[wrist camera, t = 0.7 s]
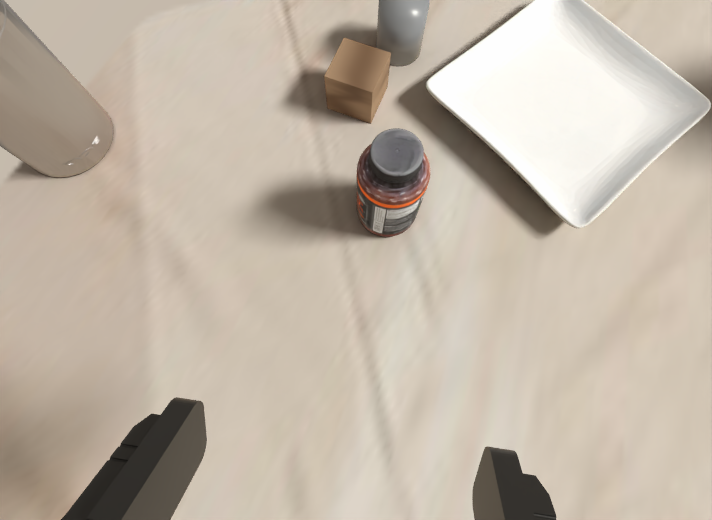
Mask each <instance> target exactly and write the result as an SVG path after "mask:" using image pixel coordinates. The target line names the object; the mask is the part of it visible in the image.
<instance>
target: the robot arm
mask: <svg viewBox="0 0 712 520" xmlns="http://www.w3.org/2000/svg"><path fill="white" fill-rule="evenodd" d="M113 134H114V132H113V124H112V121H111V118H110V117H109V115H108V114H107V112H106V111H105V110H104V109H103V108H102V107H101V106H100V105H99V103H98V102H97V101H96V100H95V99H94V98H93V97H92V96H91V95H90V94H89V93H88V91H87V90H86V89H85V88H84V87H83V86H82V85H81V84H80V82H79V81H78V80H77V79H76V78H75V77H74V76H73V75H72V74H71V73H70V72H69V70H68V69H67V68H66V67H65V66H64V65H63V64H62V63H61V62H60V61H59V60H58V59H57V57H56V56H55V55H54V54H53V53H52V52H51V51H50V50H49V49H48V48H47V47H46V46H45V45H44V43H43V42H42V41H41V40H40V39H39V38H38V37H37V36H36V35H35V34H34V32H32V30H31V29H30V28H29V27H28V26H27V25H26V24H25V23H24V22H23V20H22V19H21V18H20V17H19V16H18V15H17V14H16V13H15V12H14V11H13V10H12V9H11V7H10V6H9V5H8V4H7V3H6V2H5V1H4V0H0V146H1V147H3V148H4V149H5V150H7V151H8V152H10V153H11V154H13V155H14V156H16V157H17V158H19V159H20V160H22V161H23V162H25V163H26V164H28V165H29V166H31V167H32V168H34V169H35V170H37V171H39V172H40V173H42V174H45V175H48V176H51V177H70V176H73V175H77V174H80V173H82V172H84V171H87V170H89V169H90V168H91V167H93V166H94V165H96V164H97V163H98V162H99V161H100V160H101V159H102V158H103V157H104V156H105V154H106V153H107V151H108V150H109V148H110V145H111V143H112V139H113ZM206 442H207V437H206V426H205V416H204V406H203V403H202V402H201V401H196V400H190V399H183V398H174V399H173V400H171V402H170V403H169V404H168V406H167V407H166V408H165V410H164V411H163V413H162V414H161V415H157V414H151V415H149V416H148V417H147V418H145V419H144V420H142V421H141V422H140V423H138V424H137V425H136V426H134V427H133V428H132V430H131V431H130V432H129V434H128V435H127V436H126V437H125V439H124V440H123V441H122V443H121V445H120V447H118V448H117V449H116V450H115V452H114V453H113V454H112V455H111V457H110V460H109V461H107V462H106V463H105V465H104V466H103V467H102V468H101V470H100V471H99V472H98V474H97V475H96V476H95V477H94V479H93V480H92V481H91V483H90V484H89V485H88V486H87V488H86V489H85V490H84V492H83V493H82V494H81V496H80V497H79V498H78V499H77V501H76V502H75V503H74V505H73V506H72V507H71V508H70V510H69V511H68V512H67V513H66V515H65V516H64V517H63V518H62V519H61V520H170V519H171V517H172V515H173V514H174V512H175V510H176V508H177V506H178V504H179V502H180V500H181V499H182V497H183V495H184V493H185V491H186V489H187V487H188V485H189V484H190V482H191V480H192V478H193V476H194V474H195V472H196V470H197V468H198V467H199V465H200V463H201V461H202V458H203V456H204V452H205V448H206ZM473 511H474V518H475V520H556V514H555V511H554V508H553V505H552V502H551V499H550V496H549V494H548V493H547V491H546V490H545V488H544V487H543V486H542V484H541V483H540V482H539V480H538V479H537V477H536V476H534V475H528V474H523V473H522V470H521V466H520V463H519V459H518V456H517V454H516V452H515V451H512V450H506V449H499V448H493V447H485V449H484V452H483V455H482V458H481V462H480V465H479V468H478V472H477V475H476V478H475V482H474V486H473Z"/></svg>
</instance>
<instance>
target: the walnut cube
mask: <svg viewBox="0 0 712 520" xmlns="http://www.w3.org/2000/svg"><path fill="white" fill-rule="evenodd" d="M390 57H391V53H390V52H387V51H384V50H381V49H378V48H375V47H372V46H369V45H366V44H363V43H359V42H356V41H353V40H350V39H347V38H343V40H342V42H341V44H340V46H339V48H338V50H337V52H336V54H335V56H334V58H333V60H332V62H331V64H330V66H329V68H328V70H327V72H326V74H325V76H324V79H325V89H326V99H327V108H328V109H330V110H333V111H336V112H339V113H342V114H345V115H348V116H350V117H353V118H356V119H359V120H362V121H365V122H368V123H371V122H372V120H373V117H374V115H375V113H376V111H377V109H378V106H379V104H380V102H381V100H382V98H383V95H384V93H385V91H386V89H387V85H388V76H389V67H390Z"/></svg>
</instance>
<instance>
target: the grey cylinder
mask: <svg viewBox="0 0 712 520" xmlns="http://www.w3.org/2000/svg"><path fill="white" fill-rule="evenodd" d="M428 8H429V0H379V9H378V26H377V42H376V48H378V49H381V50H384V51H387V52H390V53H391V57H390V65H392V66H406V65H409V64H411V63H412V62H414V61H415V60H416V59H417V58H418V56H419V54H420V50H421V44H422V39H423V34H424V29H425V24H426V19H427V14H428Z"/></svg>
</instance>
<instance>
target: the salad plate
mask: <svg viewBox="0 0 712 520" xmlns="http://www.w3.org/2000/svg"><path fill="white" fill-rule="evenodd" d="M426 88H427V90H428V92H429V93H430V94H431V95H432V96H433V97H434V98H435V99H436V100H437V101H438V102H439V103H440V104H441V105H442V106H444V107H445V108H446V109H447V110H448V111H450V112H451V113H452V114H453V115H454V116H455V117H457V118H458V119H459V120H460V121H461V122H462V123H464V124H465V125H466V126H467V127H468V128H469V129H470V130H472V131H473V132H474V133H475V134H476V135H477V136H478V137H479V138H481V139H482V140H483V141H484V142H485V143H486V144H487V145H488V146H489V147H490V148H491V149H492V150H493V151H494V152H496V153H497V154H498V155H499V156H500V157H501V158H502V159H503V160H504V161H505V162H506V163H507V164H508V165H509V166H510V167H511V168H512V169H513V170H514V171H515V172H516V173H517V174H518V175H519V176H520V177H521V178H522V179H523V180H524V181H525V182H526V183H527V184H528V185H529V186H530V187H531V188H532V189H533V190H534V191H535V192H536V193H537V194H538V195H539V196H540V197H541V198H542V199H543V200H544V202H545V203H546V204H547V205H548V206H549V207H550V208H551V209H552V210H553V211H554V212H555V213H556V214H557V215H558V216H559V217H560V218H561V219H562V220H563V221H564V222H566V223H567V224H569V225H570V226H572V227H575V228H583V227H585V226H587V225H588V224H590V223H591V222H592V221H593V220H594V219H596V218H597V217H598V216H599V215H600V214H601V213H602V212H603V211H604V210H605V209H606V208H607V207H608V206H609V205H610V204H611V203H612V202H613V201H614V200H615V199H616V198H617V197H618V196H619V195H620V194H621V193H622V192H623V191H624V190H625V189H626V188H627V187H628V186H629V185H630V184H631V183H632V182H633V181H634V180H635V179H636V178H637V177H638V176H639V175H640V174H641V173H642V172H643V171H644V170H645V169H646V168H647V167H648V166H649V165H650V164H651V163H652V162H653V161H654V160H655V159H657V158H658V157H659V156H660V155H661V154H662V153H663V152H664V151H665V150H666V149H668V148H669V147H670V146H671V145H672V144H673V143H674V142H675V141H677V140H678V139H679V138H680V137H681V136H682V135H683V134H685V133H686V132H687V131H688V130H689V129H690V128H692V127H693V126H694V125H695V124H696V123H697V122H699V121H700V120H701V119H702V118H703V117H704V116H705V115H706V114H707V113H708V111H709V110H710V108H711V103H710V101H709V99H708V98H707V97H705V96H704V95H703V94H702V93H701V92H700V91H699V90H697V89H696V88H695V87H694V86H692V85H691V84H690V83H688V82H687V81H686V80H685V79H683V78H682V77H681V76H679V75H678V74H677V73H676V72H674V71H673V70H672V69H671V68H669V67H668V66H667V65H665V64H664V63H663V62H661V61H660V60H659V59H658V58H656V57H655V56H654V55H653V54H651V53H650V52H649V51H647V50H646V49H645V48H644V47H642V46H641V45H640V44H638V43H637V42H636V41H635V40H633V39H632V38H631V37H629V36H628V35H627V34H626V33H624V32H623V31H622V30H621V29H619V28H618V27H617V26H615V25H614V24H613V23H612V22H610V21H609V20H608V19H607V18H605V17H604V16H603V15H601V14H600V13H599V12H598V11H596V10H595V9H594V8H593V7H591V6H590V5H589V4H588V3H586V2H585V1H584V0H534V1H532V2H531V3H530V4H528V5H527V6H526V7H525V8H523V9H522V10H521V11H520V12H518V13H517V14H516V15H515V16H513V17H512V18H511V19H509V20H508V21H507V22H506V23H504V24H503V25H502V26H500V27H499V28H498V29H496V30H495V31H494V32H492V33H491V34H490V35H488V36H487V37H485V38H484V39H483V40H481V41H480V42H479V43H477V44H476V45H474V46H473V47H472V48H470V49H469V50H467V51H466V52H465V53H463V54H462V55H460V56H459V57H458V58H456V59H455V60H453V61H452V62H451V63H449V64H448V65H446V66H445V67H444V68H442V69H441V70H439V71H438V72H437V73H436V74H434V75H433V76H432V77H430V78H429V79H428V80H427V82H426Z"/></svg>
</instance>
